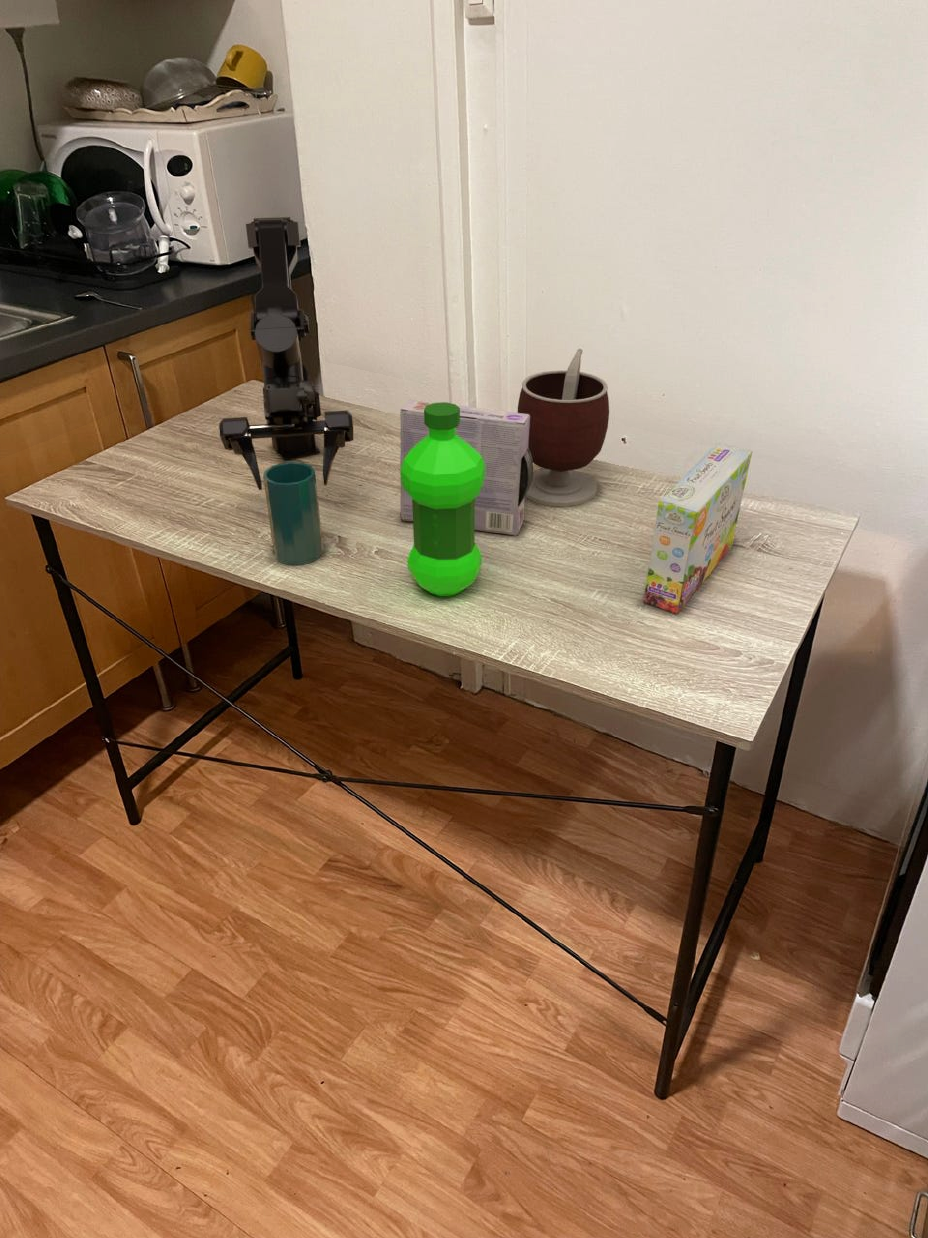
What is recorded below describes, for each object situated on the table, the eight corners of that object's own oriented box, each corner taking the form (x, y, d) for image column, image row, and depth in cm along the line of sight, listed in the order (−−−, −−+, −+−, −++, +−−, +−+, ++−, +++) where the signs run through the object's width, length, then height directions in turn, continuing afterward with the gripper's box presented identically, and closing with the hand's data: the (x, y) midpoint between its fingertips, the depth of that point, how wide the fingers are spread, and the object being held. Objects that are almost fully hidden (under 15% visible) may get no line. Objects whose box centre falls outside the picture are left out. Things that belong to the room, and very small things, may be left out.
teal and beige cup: (312, 536, 135) (303, 457, 127) (330, 557, 130) (322, 477, 122) (268, 548, 132) (256, 468, 125) (284, 570, 127) (273, 488, 120)
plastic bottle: (431, 558, 129) (427, 387, 115) (497, 579, 125) (501, 403, 110) (391, 592, 122) (381, 414, 108) (459, 615, 118) (458, 432, 103)
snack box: (682, 617, 117) (698, 512, 109) (640, 604, 120) (654, 500, 111) (735, 545, 132) (754, 448, 123) (698, 535, 134) (714, 439, 126)
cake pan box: (531, 522, 138) (536, 410, 128) (524, 538, 134) (529, 424, 124) (409, 507, 142) (405, 397, 132) (399, 522, 138) (394, 410, 128)
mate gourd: (590, 515, 140) (600, 388, 128) (503, 500, 144) (506, 376, 132) (612, 472, 152) (624, 353, 140) (532, 460, 156) (537, 343, 144)
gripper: (209, 363, 125) (217, 472, 122) (347, 355, 127) (358, 462, 125) (221, 397, 136) (229, 498, 133) (348, 389, 138) (358, 488, 135)
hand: (292, 486), depth 131 cm, fingers open, 9 cm apart
